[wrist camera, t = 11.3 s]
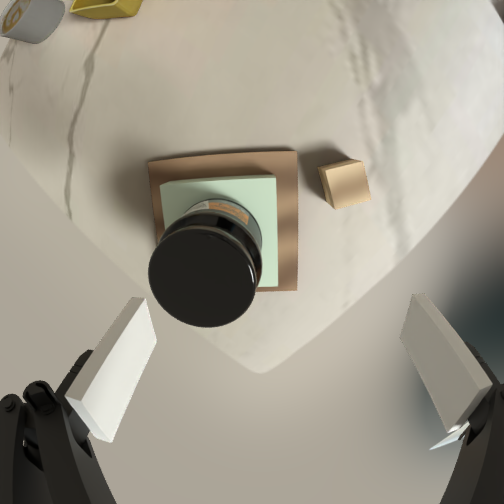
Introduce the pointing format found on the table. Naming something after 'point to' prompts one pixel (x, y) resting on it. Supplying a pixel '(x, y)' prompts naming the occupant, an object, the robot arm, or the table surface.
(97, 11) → the flower pot
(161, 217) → the board
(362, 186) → the block
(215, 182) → the pedestal slab
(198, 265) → the supplement container
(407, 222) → the table surface
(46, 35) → the coffee mug
